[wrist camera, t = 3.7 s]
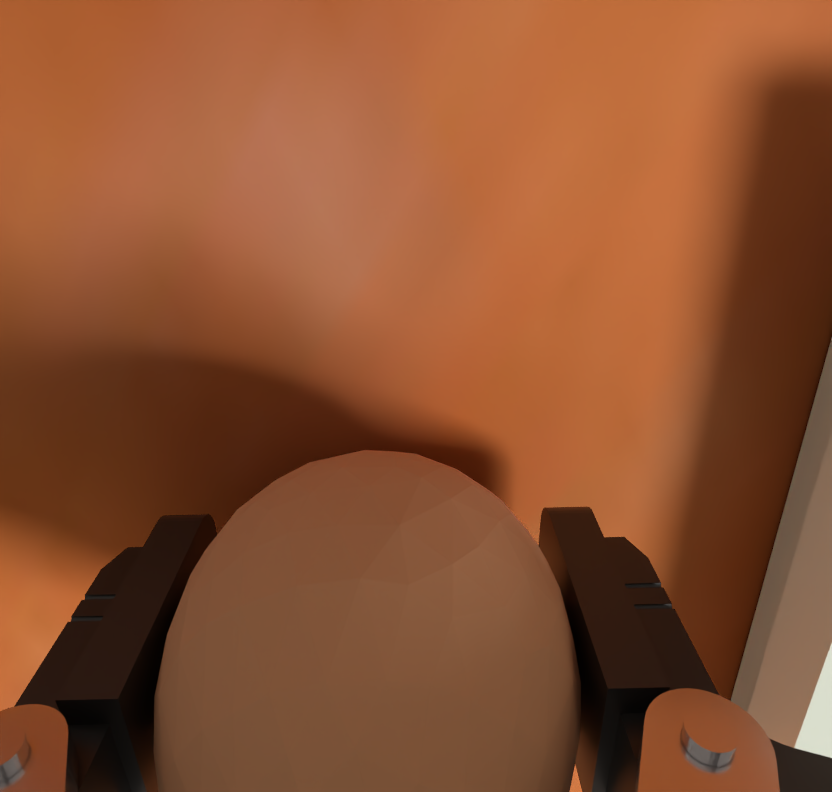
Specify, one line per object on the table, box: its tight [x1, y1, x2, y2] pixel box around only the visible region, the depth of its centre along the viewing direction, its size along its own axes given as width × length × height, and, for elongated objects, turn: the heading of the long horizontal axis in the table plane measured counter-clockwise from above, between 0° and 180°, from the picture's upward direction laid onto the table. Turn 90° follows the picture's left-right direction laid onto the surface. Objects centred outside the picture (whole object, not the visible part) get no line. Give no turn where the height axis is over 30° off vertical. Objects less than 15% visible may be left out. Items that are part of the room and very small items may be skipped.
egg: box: [154, 450, 581, 792], centre depth 9 cm, size 5×5×7 cm
